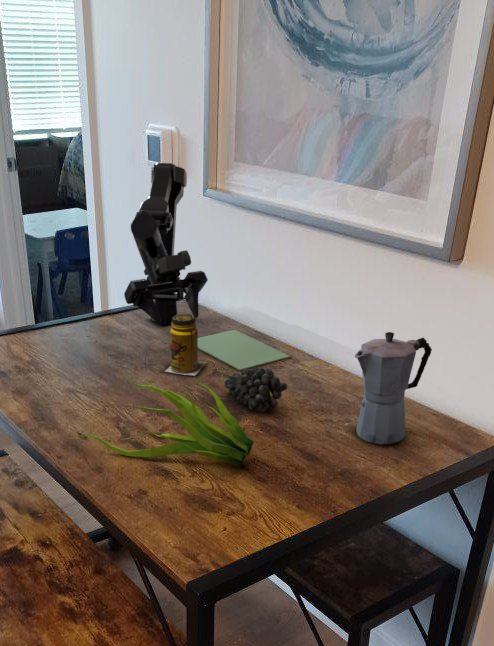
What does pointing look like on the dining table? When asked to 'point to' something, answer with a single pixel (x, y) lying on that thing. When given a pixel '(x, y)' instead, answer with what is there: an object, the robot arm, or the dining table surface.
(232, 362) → the mat
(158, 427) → the dining table surface
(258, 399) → the fruit
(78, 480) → the dining table surface
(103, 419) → the dining table surface
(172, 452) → the decorative plant
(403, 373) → the moka pot
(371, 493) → the dining table surface
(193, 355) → the condiment
